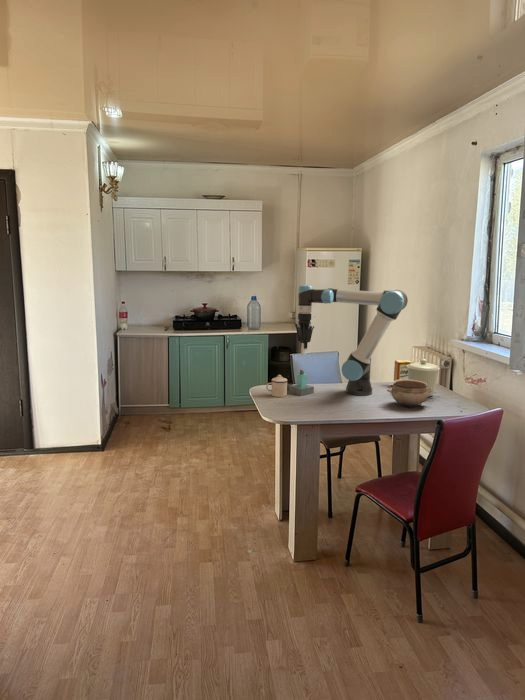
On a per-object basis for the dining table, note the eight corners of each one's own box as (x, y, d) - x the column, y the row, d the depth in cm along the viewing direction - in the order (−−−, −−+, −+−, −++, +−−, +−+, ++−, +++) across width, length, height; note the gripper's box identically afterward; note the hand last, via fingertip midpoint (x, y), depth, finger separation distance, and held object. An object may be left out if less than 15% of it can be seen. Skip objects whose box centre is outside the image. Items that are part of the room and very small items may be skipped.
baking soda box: (396, 387, 314) (398, 361, 311) (393, 385, 320) (394, 359, 318) (412, 387, 315) (413, 361, 312) (408, 385, 321) (410, 359, 318)
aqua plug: (306, 393, 297) (306, 370, 295) (301, 394, 294) (301, 370, 292) (301, 391, 300) (301, 368, 298) (296, 392, 297) (296, 369, 295)
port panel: (313, 393, 296) (313, 386, 296) (301, 396, 290) (301, 389, 290) (301, 389, 304) (301, 383, 303) (288, 392, 298) (289, 385, 297)
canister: (443, 395, 297) (446, 359, 293) (426, 400, 285) (429, 363, 281) (416, 389, 310) (418, 354, 306) (398, 394, 298) (400, 358, 295)
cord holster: (298, 390, 304) (298, 385, 303) (289, 391, 299) (289, 387, 299) (290, 387, 309) (290, 383, 309) (281, 389, 305) (281, 385, 304)
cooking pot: (393, 411, 264) (394, 387, 262) (379, 401, 282) (381, 379, 280) (439, 409, 267) (441, 386, 265) (422, 400, 286) (424, 378, 284)
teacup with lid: (285, 393, 296) (285, 373, 294) (288, 397, 287) (289, 376, 285) (264, 393, 294) (265, 373, 292) (267, 397, 285) (267, 377, 284)
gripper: (291, 312, 295) (291, 353, 299) (308, 314, 286) (307, 356, 290) (301, 311, 300) (300, 351, 304) (317, 313, 291) (316, 354, 295)
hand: (303, 354), depth 297 cm, fingers closed
